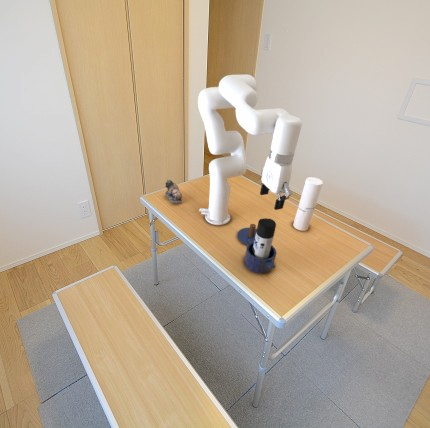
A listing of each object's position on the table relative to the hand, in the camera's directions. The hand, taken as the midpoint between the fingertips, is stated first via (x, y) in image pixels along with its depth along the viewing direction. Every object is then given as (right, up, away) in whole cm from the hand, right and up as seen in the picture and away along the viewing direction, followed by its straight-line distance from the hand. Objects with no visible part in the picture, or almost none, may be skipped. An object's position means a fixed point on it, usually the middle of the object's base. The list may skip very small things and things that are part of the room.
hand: (270, 201), depth 98 cm
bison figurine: (-41, +3, +52) cm, 66 cm away
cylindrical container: (+23, -11, +38) cm, 46 cm away
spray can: (-1, -24, +15) cm, 29 cm away
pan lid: (-3, -15, +28) cm, 32 cm away
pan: (-1, -25, +15) cm, 29 cm away
